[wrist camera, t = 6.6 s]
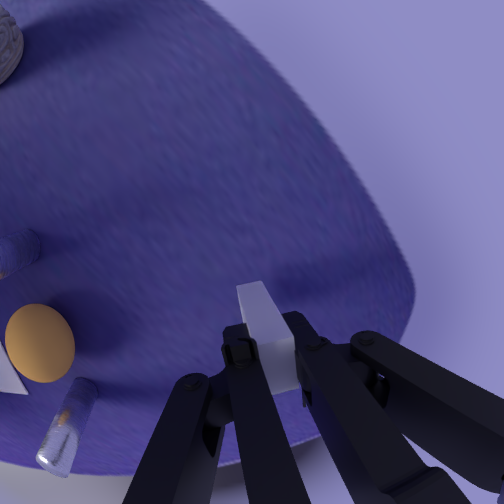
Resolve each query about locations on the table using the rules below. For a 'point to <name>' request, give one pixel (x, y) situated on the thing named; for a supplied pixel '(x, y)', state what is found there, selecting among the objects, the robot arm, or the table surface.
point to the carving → (9, 44)
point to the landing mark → (9, 375)
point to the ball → (40, 343)
